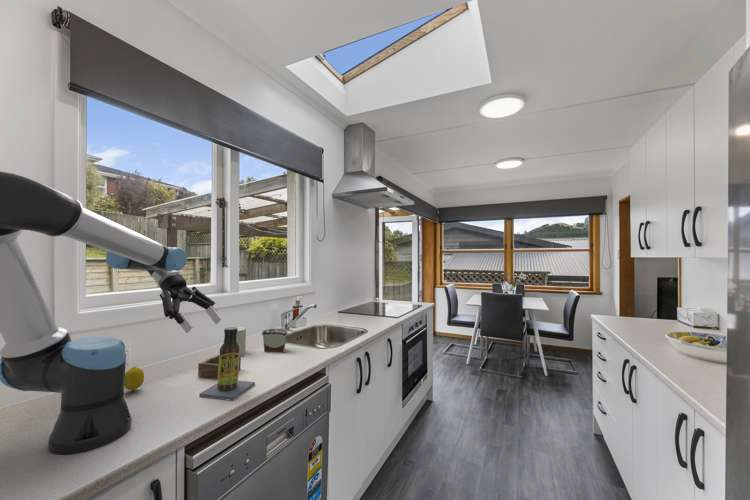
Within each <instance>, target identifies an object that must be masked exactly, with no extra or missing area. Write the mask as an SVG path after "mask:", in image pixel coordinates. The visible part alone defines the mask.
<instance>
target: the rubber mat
mask: <svg viewBox="0 0 750 500" xmlns="http://www.w3.org/2000/svg"><path fill="white" fill-rule="evenodd" d="M255 382H256V381H248V380H239V379H238V381H237V386H236V387H235V388H234V389H231V390H219V389H218V383H215V384H214V385H211V386H209V387H208V388H207V389H205V390H203V391H202V392H200V393H199V395H198V396H199V398H207V399H215V398H216V399H219V400H225V399H229V400H228V401H235V400H236V399H238V396H239V397H240V396H241V395H243V394H244V393H246V392H247V391H248V390H249V389H251V388H252V387H254V386H255V384H256V383H255ZM235 398H236V399H235Z"/></svg>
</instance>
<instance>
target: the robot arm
mask: <svg viewBox="0 0 750 500" xmlns="http://www.w3.org/2000/svg"><path fill="white" fill-rule="evenodd" d="M23 231H31V232H34V233H40V234H43V235H46V236H49V237H61V236H63V237H66V238H68V239H72V240H75V241H78V242H80V243H82V244H83V243H84V244H86V245H89V246H90V247H94V248H98V249H101V250H103V251H105V252H106V254H105V262H106V264H107V266H109V268H111V269H116V270H120V271H122V270H123V271H124V270H130V271H146V272H147V273H148V274H149V276H151V278H152V279H153V280H154V281H155V283H156V284H157V285H158V286H159V288H160V290H161V293H160V294H159V297H160V299H161V302H162V309H163V314H164V315H163V316H165V317H166V318H169V319H170V320H173V319H174V321H176V323H177V324H178V325H180V327H181V328H182V329H183V330H184V332H185V333H186V334H187V333H189V332H190V331H191V330H192V329H193V328H194V326H193V324H192V323H191V322H190V320H189V319H188V318H187V316H185V314H184V313H183V312H182V311H180V306H181V303H183V302H189V303H193V304H195V305H197V306H198V307H200V308H202V309H205V313H206V314H207V315H208V316H209V317H210V319H211V320H212V321H213V322H214V324H215V325H218V324H219V323H220V322H221V321H222V320H223V318H222V317H221V315H220V314H219V313H218V311H217V310H216V309H215V307H214V305H215V304H216V302H215V301H214V300H212V299H211V298H210V297H208V296H207V295H205V294H204V293H202V292H201V291H200V290H198V288H197V287H196V286H192V287H191V288H189V287H188V286H187V280H186V279H185V278H184V277H183V275H182V274H181V272H180V271H181V270H182V269H184V268H185V267H186V264H187V260H188V256H187V251H185V250H184V249H183V248H181V247H177V246H176V247H175V246H167V245H165V244H162V243H160V242H158V241H155V240H153V239H151V238H149V237H148V236H145V235H142V234H141V233H139V232H136V231H134V230H132V229H130V228H127V227H125V226H124V225H121V224H120V223H117V222H116V221H113V220H111V219H108V218H107V217H105V216H102V215H100V214H98V213H96V212H93V211H91V210H89V209H87V208H84V207H83V204H82V203H81V202H80V201H79V200H78V199H76V198H74V197H72V196H70V195H68V194H66V193H64V192H61V191H60V190H57V189H55V188H53V187H51V186H49V185H46V184H43V183H41V182H39V181H36V180H33V179H31V178H28V177H24V176H22V175H19V174H15V173H10V172H8V171H7V172H6V171H0V335H1V337H2V339H3V341H4V343H5V344H4V346H2V348H1V349H0V383H2V384H3V385H4V386H6V387H7V388H10V389H14V390H18V391H23V392H40V393H41V392H42V393H55V394H57V393H59V394H60V412H59V415H58V417H57V419H56V421H55V424H54V426H53V429H52V431H51V433H50V434H49V437H48V446H47V448H48V451H49V453H50V452H51V454H56V455H69V454H70V455H71V454H77V453H81V452H82V453H83V452H86V451H90V450H93V449H96V448H100V447H103V446H105V445H107V444H110V443H112V442H113V441H115V440H117V439H120V438H121V437H122V436H124V435H125V434H126V433H127V432H128V431H130V430H131V427H132V414H131V412H130V409H129V407H128V405H127V402H126V399H125V387H124V381H125V373H126V364H127V363H126V362H127V353H126V345H125V343H124V342H123V341H122V340H121V339H119V338H116V337H110V336H99V337H96V336H91V337H90V336H87V337H81V338H77V339H73V340H72V339H71V337H70V334H69V332H68V330H67V328H64V327H60V326H57V324H56V323H55V320H54V319H53V317H52V314H51V312H50V310H49V308H48V305H47V303H46V301H45V299H44V297H43V295H42V292H41V290H40V288H39V286H38V283H37V281H36V278H35V277H34V274H33V272H32V270H31V268H30V265H29V263H28V261H27V259H26V256H25V254H24V252H23V249H22V247H21V246H20V243H19V241H18V237H19V236H20V235H21V233H22V232H23Z"/></svg>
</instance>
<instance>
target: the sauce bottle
mask: <svg viewBox="0 0 750 500" xmlns="http://www.w3.org/2000/svg"><path fill="white" fill-rule="evenodd" d="M237 327H238V326H227V327H224V331H223V332H224V337H223V338H224V339H223V343H222V344H221V346H220V348H219V354H218V355H219V366H218V379H217V383H218V389H219V390H231V389H234V388H235V387H236V386H237V381H238V380H239V371H238V369H239V357H240V356H239V345H238V344H237V342H236V340H237V339H236V336H237V330H238V328H237ZM217 383H216V384H217Z"/></svg>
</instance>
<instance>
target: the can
mask: <svg viewBox="0 0 750 500" xmlns="http://www.w3.org/2000/svg"><path fill="white" fill-rule="evenodd" d="M236 327H237V328H238V330H237V336H236V339H237V340H236V342H237V344H238V345H239V357H241V356H243V355H245V354H246V340H247V339H246V336H247V335H246V334H247V328H246V327H245V326H236Z"/></svg>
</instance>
